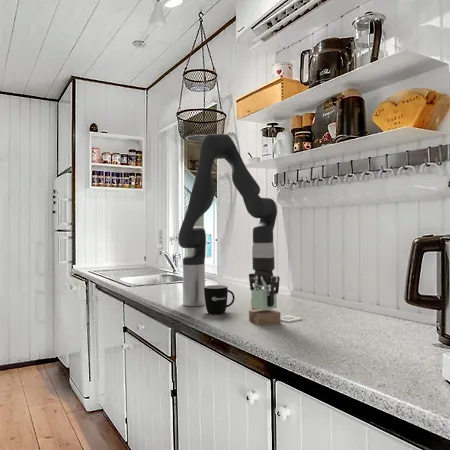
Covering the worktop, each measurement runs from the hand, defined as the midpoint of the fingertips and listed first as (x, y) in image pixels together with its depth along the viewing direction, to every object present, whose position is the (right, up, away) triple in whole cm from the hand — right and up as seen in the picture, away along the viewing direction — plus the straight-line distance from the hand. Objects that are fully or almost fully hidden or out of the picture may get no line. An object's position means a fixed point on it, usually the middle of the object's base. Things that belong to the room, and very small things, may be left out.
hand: (264, 305), depth 147 cm
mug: (-15, -6, +17) cm, 24 cm away
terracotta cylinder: (-1, -6, +12) cm, 14 cm away
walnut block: (0, -6, 0) cm, 6 cm away
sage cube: (0, -1, 0) cm, 1 cm away
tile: (+9, -6, +3) cm, 11 cm away
